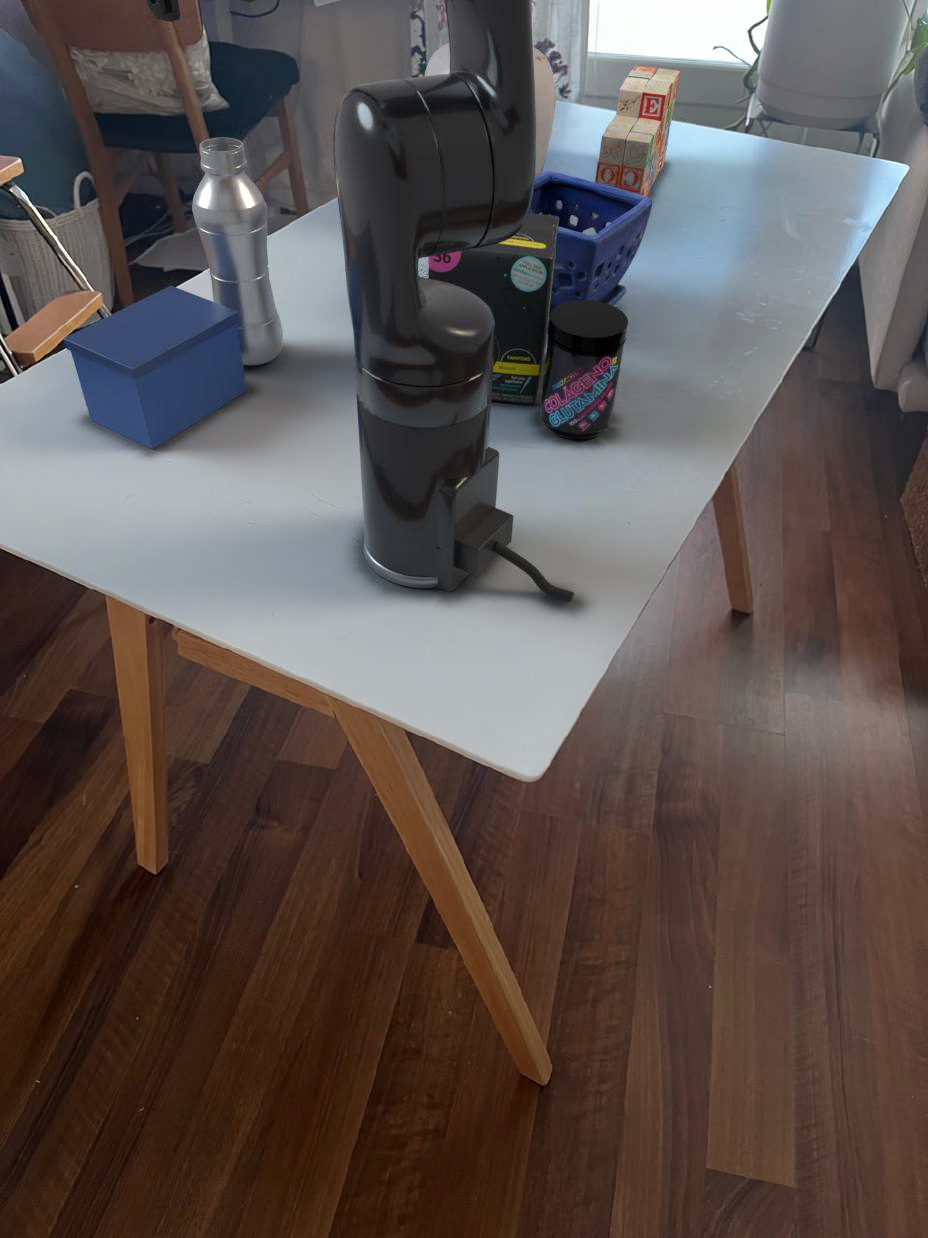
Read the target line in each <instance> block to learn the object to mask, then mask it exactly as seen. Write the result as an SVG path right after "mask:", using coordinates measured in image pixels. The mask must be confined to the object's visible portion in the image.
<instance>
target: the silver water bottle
mask: <svg viewBox="0 0 928 1238" xmlns="http://www.w3.org/2000/svg"><path fill="white" fill-rule="evenodd" d="M245 153H246V152H245V146H244V143H243V142H242V141H241V140H240V139H237V138H233V137H212V138H208V139H205V140H203V141H201V142H200V143H199V155H200V162H199V164H200V168H201V170H202V171H203V172H204V175H203V177H202V179H201V180H200V182H199V184H198V186H197V188H196V190H195V192H194V195H193V196H192V197H193V198H192V206H191V210H192V214H193V219H194V222H195V226H196V228H197V232H198V234H199V238H200V241H201V243H202V247H203V250H204V253H205V258H206V263H207V267H208V272H209V275H210V280H211V289H212V302H215V303H217V304H220V305H223V306H225V307H228V308H230V309H233V310H236V311H238V314H239V322H238V323H237V329H238V336H239V343H240V349H241V356H242V363H243V366H258V365H263V364H266V363H269V362H271V361H273V360H274V359H276V358H277V357H278V356H279V354H280V352H281V350H282V348H283V340H284V329H283V326H282V321H281V318H280V315H279V312H278V310H277V307H276V302H275V299H274V292H273V288H272V283H271V280H270V270H269V256H268V206H267V202H266V201H265V198H264V196H263V193H262V192H261V191H260V189H259V188H258V186H257V185H256V184H255V183H254V181H253V180H252V179H251V178H250V177H249V176H248V175H247V173H246V172H245V170H247V168H248V161H247V158H246V154H245Z"/></svg>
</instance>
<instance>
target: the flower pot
mask: <svg viewBox="0 0 928 1238" xmlns="http://www.w3.org/2000/svg"><path fill="white" fill-rule="evenodd" d="M558 202H561V208H559V207H558ZM652 207H653V200H652V199H651V197H648V196H647V197H645V196H642V195H639V194H636V193H633V192H629V191H626V190H622V189H619V188H615V187H612V186H608V185H604V184H600V183H596V182H595V181H591V180H588V179H584V178H580V177H576V176H572V175H568V174H564V173H560V172H556V171H551V170H545V171H542V173H541V174H539V175H537V176H536V177H535V183H534V191H533V196H532V201H531V205H530V209H529V213H532V214H543V215H552V216H558V217H559V225H558V234H557V243H556V253H555V262H554V272H553V281H552V291H551V302H550V311H549V320H550V313H551V311H552V309H553V308H554V307H556V306H557V305H559V304H562V303H564V302H568V301H574V300H592V301H598V302H603V303H606V304H609V305H612V306H614V307H615V305H616V304H617V303H618V302H620V301H621V299H622V298H623V297H624V296H625V295H626V292H627V290H628V288H627V286H625V285H623V284H620V282H621V280H622V279H623V277H624V276H625V274H626V273H627V272H628V269H629V268H630V266H631V264H632V263H633V260H634V258H635V257H636V255H637V253H638V251H639V249H640V246H641V243H642V241H643V238H644V235H645V232H646V229H647V226H648V223H649V219H650V215H651V212H652ZM595 212H596V213H597V216H595V217H594V215H593V213H595ZM572 217H576V218H577V222H576V224H574V223H571V218H572ZM608 223H609V224H608ZM607 224H608V225H607ZM591 228H592V229H594V231H595V234H593V235H589V234H586V233H584V231H586V230H589V229H591ZM549 320H548V328H549ZM547 331H548V329H547Z"/></svg>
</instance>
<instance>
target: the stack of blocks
mask: <svg viewBox="0 0 928 1238" xmlns="http://www.w3.org/2000/svg"><path fill="white" fill-rule="evenodd" d="M680 75H681V71H680V70H675V69H668V68H660V67H659V68H657V67H650V66H641V65H635V66H634V67H633V68H632V70H631V71H629V73H628V75H627V77H626V78H625V79H624V81H623V83H622V84H621V86H620V88H619V89H618V90H619V91H618V99H617V104H616V105H617V106H616V112H615V116H614V117H613V118H612V120H611V121H610V122H609V123H608V125H607V127H606V128H605V130H604V131H603V134H602V135H601V141H600V149H599V156H598V161H597V163H596V171H595V178H594V179H595V180H594V182H596V183H600V184H604V185H608V186H612V187H615V188H619V189H622V190H626V191H629V192H633V193H636V194H639V195H642V196H645V197H648V195H649V194H650V191H651V188H652V187H653V185H654V183H655V181H656V179H657V178H658V176H659V174H660V173H661V171H662V169H663V167H664V165H665V160H666V156H667V151H668V144H669V136H670V131H671V125H672V119H673V116H674V115H673V114H674V109H675V103H676V98H677V97H676V96H677V91H678V87H679V81H680Z"/></svg>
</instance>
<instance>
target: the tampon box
mask: <svg viewBox="0 0 928 1238" xmlns="http://www.w3.org/2000/svg"><path fill="white" fill-rule="evenodd" d="M558 225H559V217H558V216H552V215H550V214H549V215H543V214H541V213H540V214H532V213H528V216H527V218H526V220H525V222H524V224H523V226H522V228H521V229H520V230H519V232H518V233H517V234H515V235H514V236H513V237H512V238H510V239H508V240H506V241H503V242H500V243H497V244H493V245H488V246H484V247H479V248H473V249H468V250H463V251H457V252H452V253H446V254H441V255H435V256H430V257H428V269H427V270H428V272H427V273H428V276H427V278H428V279H433V280H438V281H443V282H447V283H450V284H454V285H457V286H459V287H462V288H464V289H466V290H469V291H470V292H472V293H474V294H476V295H477V296H478V297H480V298H481V299H482V300H483V301H484V302H485V303H486V304H487V305H488V306H489V307H490V309H491V311H492V313H493V315H494V319H495V326H496V336H495V352H494V367H493V383H492V397H491V401H495V402H504V403H512V404H519V405H528V406H534V404H535V403H536V400H537V395H538V392H539V386H540V381H541V375H542V371H543V365H544V361H545V360H544V359H545V355H546V347H547V338H548V330H547V329H548V320H549V311H550V302H551V291H552V281H553V272H554V262H555V253H556V243H557V234H558Z"/></svg>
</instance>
